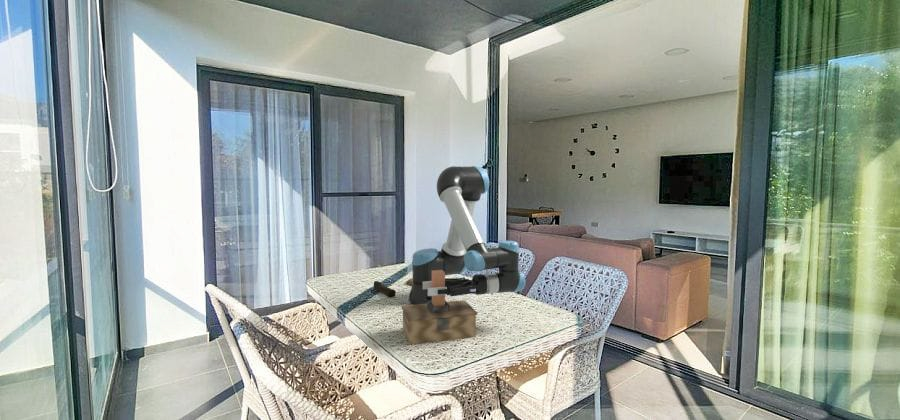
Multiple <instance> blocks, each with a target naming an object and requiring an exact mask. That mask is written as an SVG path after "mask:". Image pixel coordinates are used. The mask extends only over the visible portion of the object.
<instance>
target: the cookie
mask: <svg viewBox="0 0 900 420" xmlns="http://www.w3.org/2000/svg"><path fill="white" fill-rule="evenodd" d="M406 284H407V285H408V286H409V287H412V285H413V277H411V278H409V279H407V281H406Z"/></svg>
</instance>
